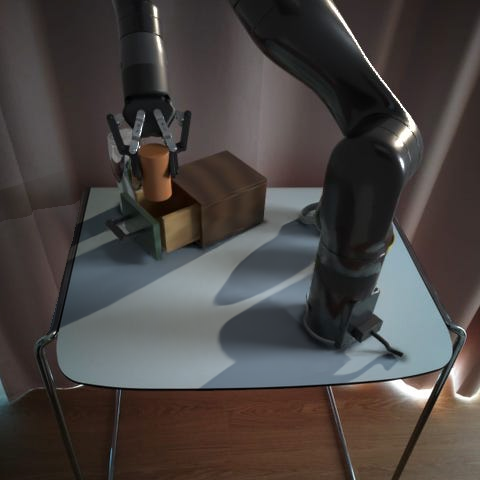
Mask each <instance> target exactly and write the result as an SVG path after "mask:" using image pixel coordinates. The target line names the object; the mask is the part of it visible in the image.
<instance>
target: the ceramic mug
mask: <svg viewBox="0 0 480 480" xmlns="http://www.w3.org/2000/svg"><path fill="white" fill-rule="evenodd" d="M321 199H322V195H320V198H319V201H317V202H313V203H310V204H308V205H306V206H304V207H303V208H302V209H301V210H300V212H299V218H300V221H301V223H303V224H305V225H314V227H316V229H317V231H319V232H320V233H321V229H322V226H321V222H320V206H321ZM311 212H313V215H312V216H307V215H308V214H309V213H311Z"/></svg>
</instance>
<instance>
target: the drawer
mask: <svg viewBox="0 0 480 480" xmlns="http://www.w3.org/2000/svg"><path fill="white" fill-rule="evenodd" d="M171 191H172V194H171V196H170V197H169V198H168V199H167V200H164V201H159V202H155V201H150V200H148V199H146V198H145V197H144V195H143V189H141V190H139V191H136V192H135V198H136V201H135V200H134V199H133V198H132V197H131V196H130V195H129V194H128V193H127V192H123V193H120V192H119V197H121V203H122V209H123V212H122V214H123V216H121V217H118V218H114V219H112V218H108V219H106V220H105V222H104V224H105V226H106V227H107V228H108V229H109V230H110V231H111V232H112V234H113V235H114V236H115V237H116V238H117V239H118V240H119V242H121V243H122V244H127V243H128V242H129V241H130V239H134V240H135V241H136V242H137V243H138V244H139V245H140V246H141V247H142V248H143V249H144V250H145V251H146V252H147V253H148V254H149V255H150V256H151V257H152V258H153V259H154V260H155V261H156V262H159V261H163V251H164V252H165V253H167V254H168V253H170V252H173V251H175V250H177V249H180V248H182V247H185V246H187V245H189V244H192V243H194V242H195V241H196V240H199V239H200V217H199V206H198V205H197V204H196V203H195V202H194V201H193V200H191V199H190V198H189V197H188V196H187V195H185V194H184V193H183V192H182V191H181V190H180V189H178V188H177V187H176V186H175V185H174V184H173V183H171ZM122 222H124V226H125V230H126V232H128V234H126V233H125V231H123V230H122V229H121V228H120V226H119V225H118V224H120V223H122Z"/></svg>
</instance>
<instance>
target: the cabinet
mask: <svg viewBox="0 0 480 480" xmlns="http://www.w3.org/2000/svg"><path fill="white" fill-rule="evenodd" d="M178 166H179V172H178V175H175V178H173V179H171V183H173V184H174V185H175V186H176V187H177V188H178V189H180V190H181V191H182V192H183V193H184V194H185V195H187V196H188V197H189V198H190V199H191V200H193V201H194V202H195V203H196V204H197V205H198V206H199V217H200V239H199V240H196V241H194V242H195V243H196V245H198V246H199V247H201V248H202V249H205V248H208V247H209V246H212V245H214V244H216V243H219V242H220V241H224V240H225V239H227V238H230V237H232V236H234V235H236V234H238V233H241V232H244V231H247V230H248V229H250V228H252V227H255V226H257V225H259V224H261V223H264V221H265V211H266V198H267V186H268V178H267V177H265V175H263V174H262V173H260V172H259V171H258V170H256V169H254V168H253V167H252V166H250V165H249V164H247V163H246V162H245V161H243V160H242V159H240V158H239V157H238V156H236V155H235V154H233V152H231V151H229V150H227V149H226V150H223V151H219V152H217V153H214V154H211V155H208V156H205V157H202V158H199V159H196V160H194V161H191V162H188V163H184V164H182V165H178ZM170 177H171V176H170Z"/></svg>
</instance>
